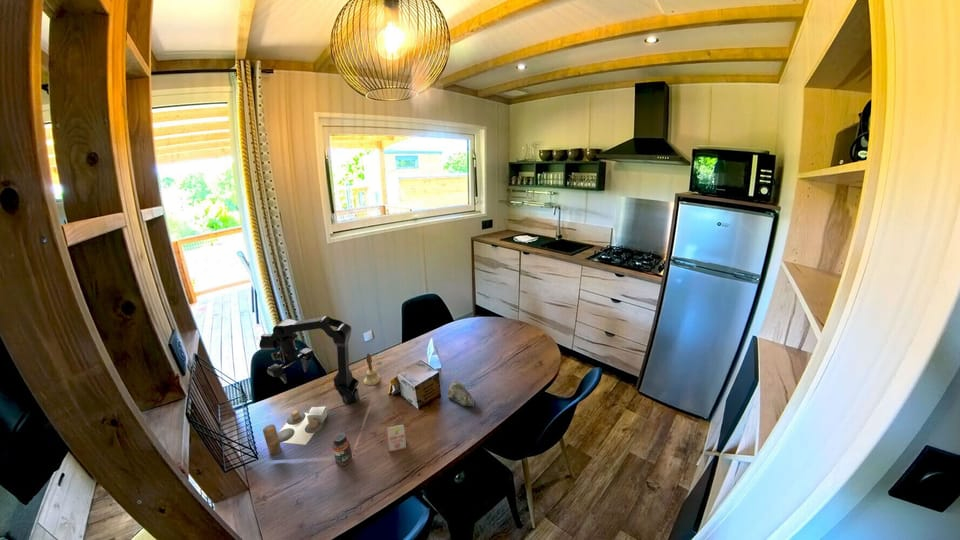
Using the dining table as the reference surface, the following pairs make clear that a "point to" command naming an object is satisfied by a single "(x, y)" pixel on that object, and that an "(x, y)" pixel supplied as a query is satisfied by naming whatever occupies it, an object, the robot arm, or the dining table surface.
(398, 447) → the small printed carton
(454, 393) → the mineral rock
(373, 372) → the hand bell
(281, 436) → the board
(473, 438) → the dining table surface
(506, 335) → the dining table surface
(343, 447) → the supplement bottle
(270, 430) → the tan orange cylinder
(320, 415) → the housing
